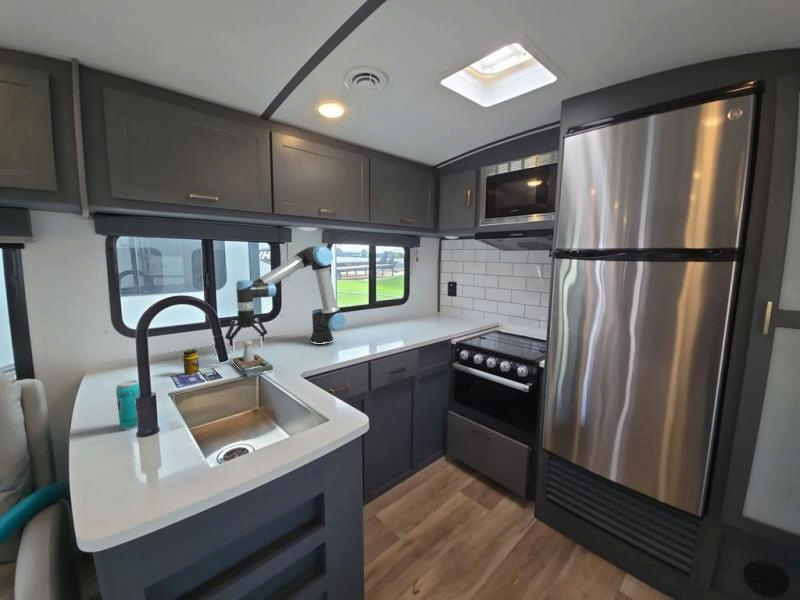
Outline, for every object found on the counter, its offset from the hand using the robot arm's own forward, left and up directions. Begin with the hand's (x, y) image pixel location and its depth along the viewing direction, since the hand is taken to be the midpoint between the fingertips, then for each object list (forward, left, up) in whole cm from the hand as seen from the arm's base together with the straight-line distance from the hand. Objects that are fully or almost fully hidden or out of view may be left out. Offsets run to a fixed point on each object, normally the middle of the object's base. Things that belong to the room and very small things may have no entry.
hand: (247, 349), depth 168 cm
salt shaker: (0, 0, -9) cm, 9 cm away
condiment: (+20, -17, -9) cm, 28 cm away
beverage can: (+64, +5, -9) cm, 65 cm away
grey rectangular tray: (+4, +5, -8) cm, 11 cm away
